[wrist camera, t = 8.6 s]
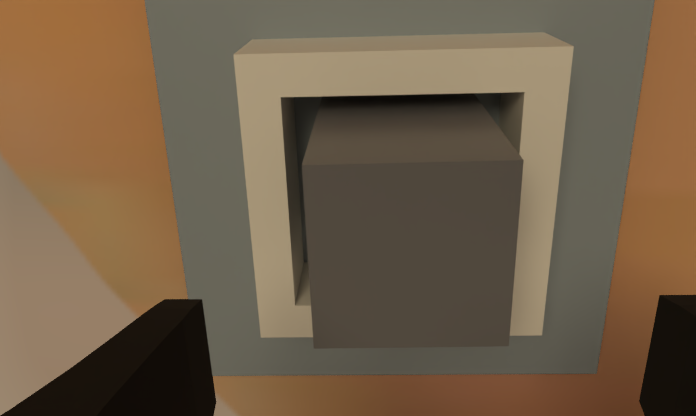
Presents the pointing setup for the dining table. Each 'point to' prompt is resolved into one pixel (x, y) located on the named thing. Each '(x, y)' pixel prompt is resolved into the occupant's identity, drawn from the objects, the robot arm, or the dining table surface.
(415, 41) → the socket
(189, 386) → the robot arm
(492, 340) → the plug
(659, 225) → the dining table surface
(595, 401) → the dining table surface
